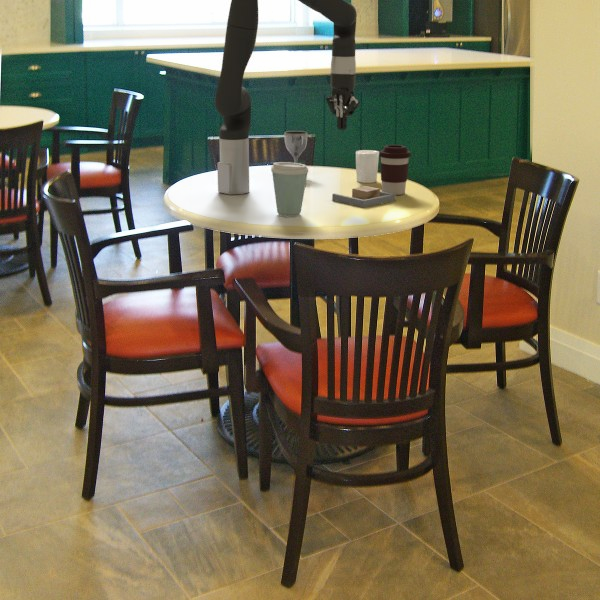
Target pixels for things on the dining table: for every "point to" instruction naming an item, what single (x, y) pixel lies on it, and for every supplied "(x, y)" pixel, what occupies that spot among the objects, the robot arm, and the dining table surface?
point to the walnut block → (365, 192)
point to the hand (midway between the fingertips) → (341, 129)
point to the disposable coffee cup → (289, 187)
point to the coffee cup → (394, 168)
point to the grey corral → (365, 203)
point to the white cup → (367, 165)
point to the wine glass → (295, 143)
